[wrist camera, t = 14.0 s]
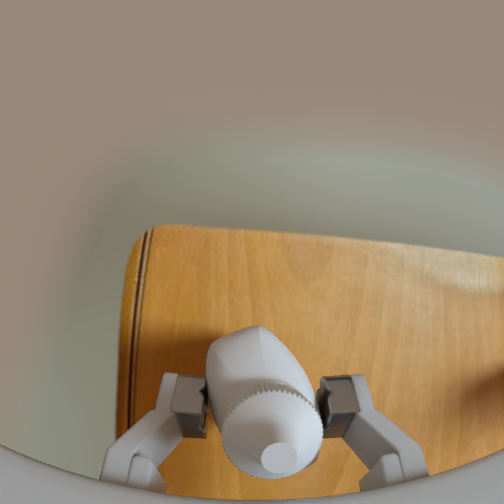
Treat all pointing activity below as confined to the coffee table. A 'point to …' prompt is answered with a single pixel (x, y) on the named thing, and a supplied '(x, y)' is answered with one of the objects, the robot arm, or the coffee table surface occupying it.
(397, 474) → the robot arm
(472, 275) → the coffee table surface
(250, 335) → the eye dropper bottle
